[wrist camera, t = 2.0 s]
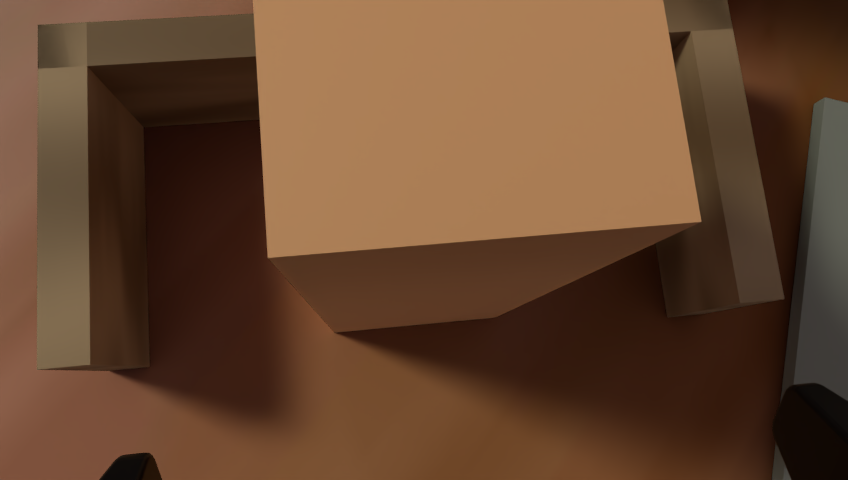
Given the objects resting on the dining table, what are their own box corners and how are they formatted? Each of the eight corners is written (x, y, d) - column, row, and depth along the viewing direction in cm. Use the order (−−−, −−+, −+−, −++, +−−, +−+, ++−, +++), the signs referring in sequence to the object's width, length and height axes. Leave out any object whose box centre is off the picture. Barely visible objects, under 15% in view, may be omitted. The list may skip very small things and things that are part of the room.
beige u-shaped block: (703, 313, 22) (784, 298, 18) (107, 370, 21) (36, 369, 16) (660, 60, 24) (725, -11, 20) (103, 93, 22) (38, 25, 18)
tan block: (495, 317, 22) (701, 221, 8) (334, 332, 21) (267, 258, 8) (477, 164, 23) (636, -155, 9) (322, 175, 22) (244, -141, 9)
